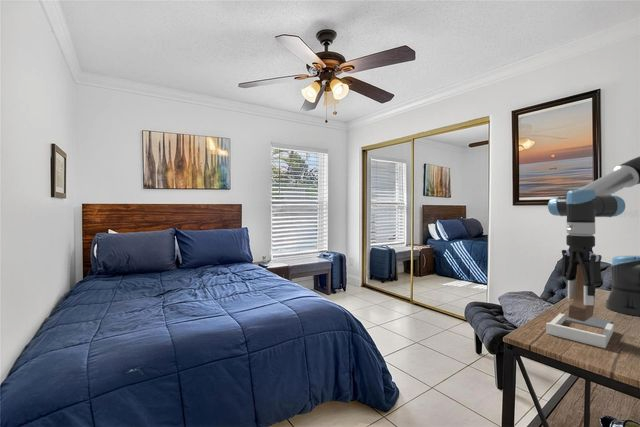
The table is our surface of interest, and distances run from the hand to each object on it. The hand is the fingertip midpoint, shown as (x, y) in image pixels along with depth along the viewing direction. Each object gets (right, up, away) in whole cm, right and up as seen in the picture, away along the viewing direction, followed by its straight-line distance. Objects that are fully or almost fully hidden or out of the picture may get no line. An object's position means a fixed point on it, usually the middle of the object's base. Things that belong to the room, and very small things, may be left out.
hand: (580, 301), depth 105 cm
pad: (+12, -11, +11) cm, 20 cm away
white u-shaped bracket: (+1, -11, +1) cm, 11 cm away
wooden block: (0, -6, 0) cm, 6 cm away
